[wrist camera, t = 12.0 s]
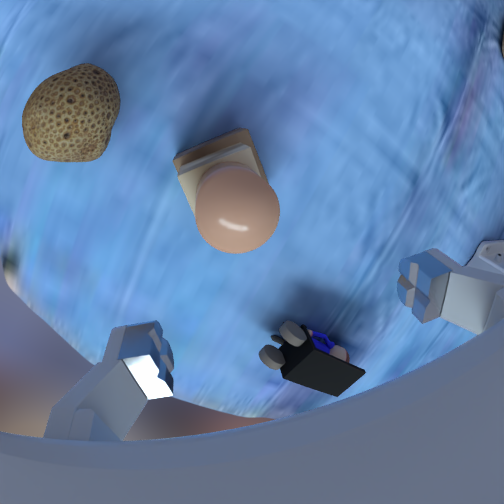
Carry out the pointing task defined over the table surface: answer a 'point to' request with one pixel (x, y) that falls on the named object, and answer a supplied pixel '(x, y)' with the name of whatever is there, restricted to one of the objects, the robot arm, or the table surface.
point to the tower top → (198, 167)
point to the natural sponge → (71, 115)
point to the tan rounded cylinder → (235, 208)
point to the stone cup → (503, 45)
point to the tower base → (219, 148)
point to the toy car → (310, 360)
